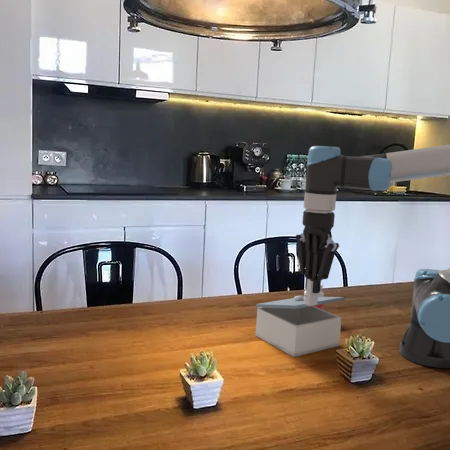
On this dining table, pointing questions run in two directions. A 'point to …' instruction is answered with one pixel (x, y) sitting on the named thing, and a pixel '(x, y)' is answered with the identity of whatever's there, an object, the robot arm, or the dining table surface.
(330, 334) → the box
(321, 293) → the pill bottle
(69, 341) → the dining table surface
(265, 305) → the lid
